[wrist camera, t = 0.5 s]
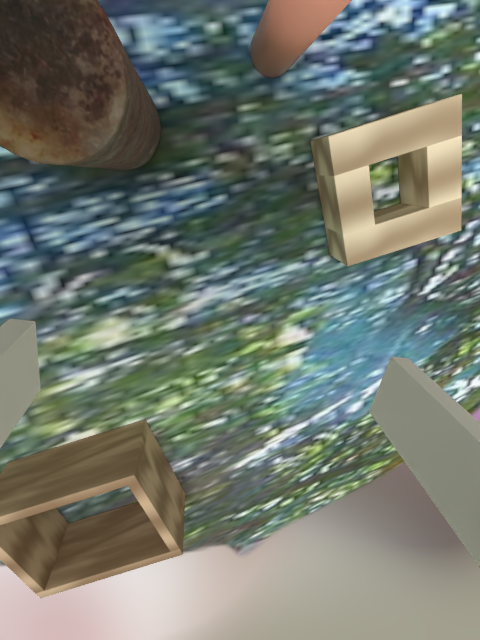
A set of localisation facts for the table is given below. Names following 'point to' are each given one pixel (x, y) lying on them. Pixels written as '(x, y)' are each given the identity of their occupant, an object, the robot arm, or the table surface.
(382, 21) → the table surface
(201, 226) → the table surface
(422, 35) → the table surface
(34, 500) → the frame
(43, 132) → the brown log
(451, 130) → the socket block
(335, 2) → the peg
